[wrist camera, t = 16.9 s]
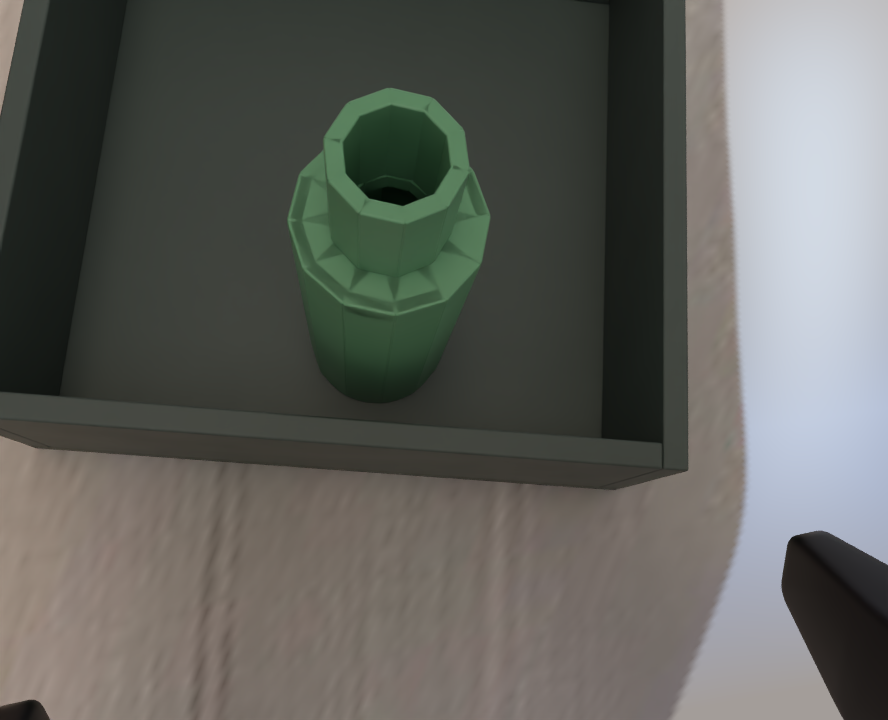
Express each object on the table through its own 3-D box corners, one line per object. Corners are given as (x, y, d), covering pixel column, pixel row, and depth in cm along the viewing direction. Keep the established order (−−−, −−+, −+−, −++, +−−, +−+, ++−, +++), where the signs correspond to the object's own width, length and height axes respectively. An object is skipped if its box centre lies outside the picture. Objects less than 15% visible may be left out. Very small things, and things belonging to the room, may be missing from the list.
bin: (622, 1, 28) (685, -130, 23) (615, 490, 24) (689, 471, 19) (124, -61, 27) (67, -215, 21) (34, 447, 23) (-63, 414, 18)
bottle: (426, 415, 24) (490, 288, 13) (300, 388, 24) (251, 235, 12) (450, 296, 25) (530, 78, 13) (329, 269, 24) (308, 26, 13)
